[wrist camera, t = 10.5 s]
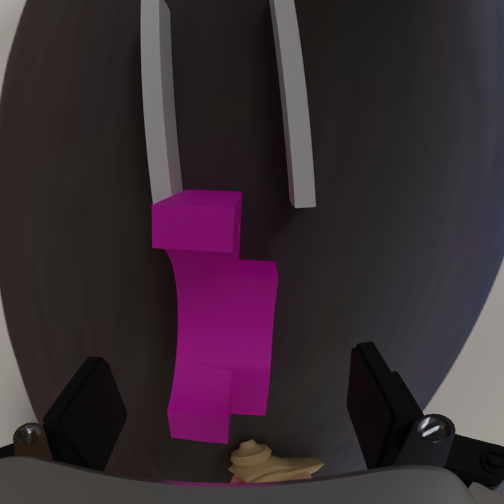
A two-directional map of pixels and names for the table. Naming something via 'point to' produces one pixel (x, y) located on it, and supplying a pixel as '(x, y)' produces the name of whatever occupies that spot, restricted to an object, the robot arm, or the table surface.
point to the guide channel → (163, 107)
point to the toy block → (215, 314)
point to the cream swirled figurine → (268, 465)
